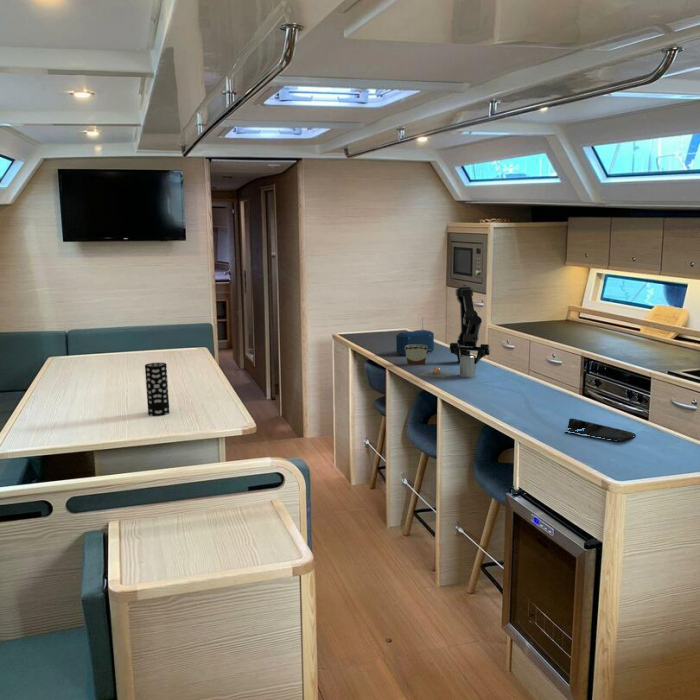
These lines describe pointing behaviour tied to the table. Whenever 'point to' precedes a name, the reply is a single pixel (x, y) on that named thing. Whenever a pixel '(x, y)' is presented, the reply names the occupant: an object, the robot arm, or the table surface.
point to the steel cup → (467, 365)
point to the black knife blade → (599, 430)
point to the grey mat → (441, 375)
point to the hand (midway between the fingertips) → (467, 363)
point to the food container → (416, 354)
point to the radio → (414, 339)
